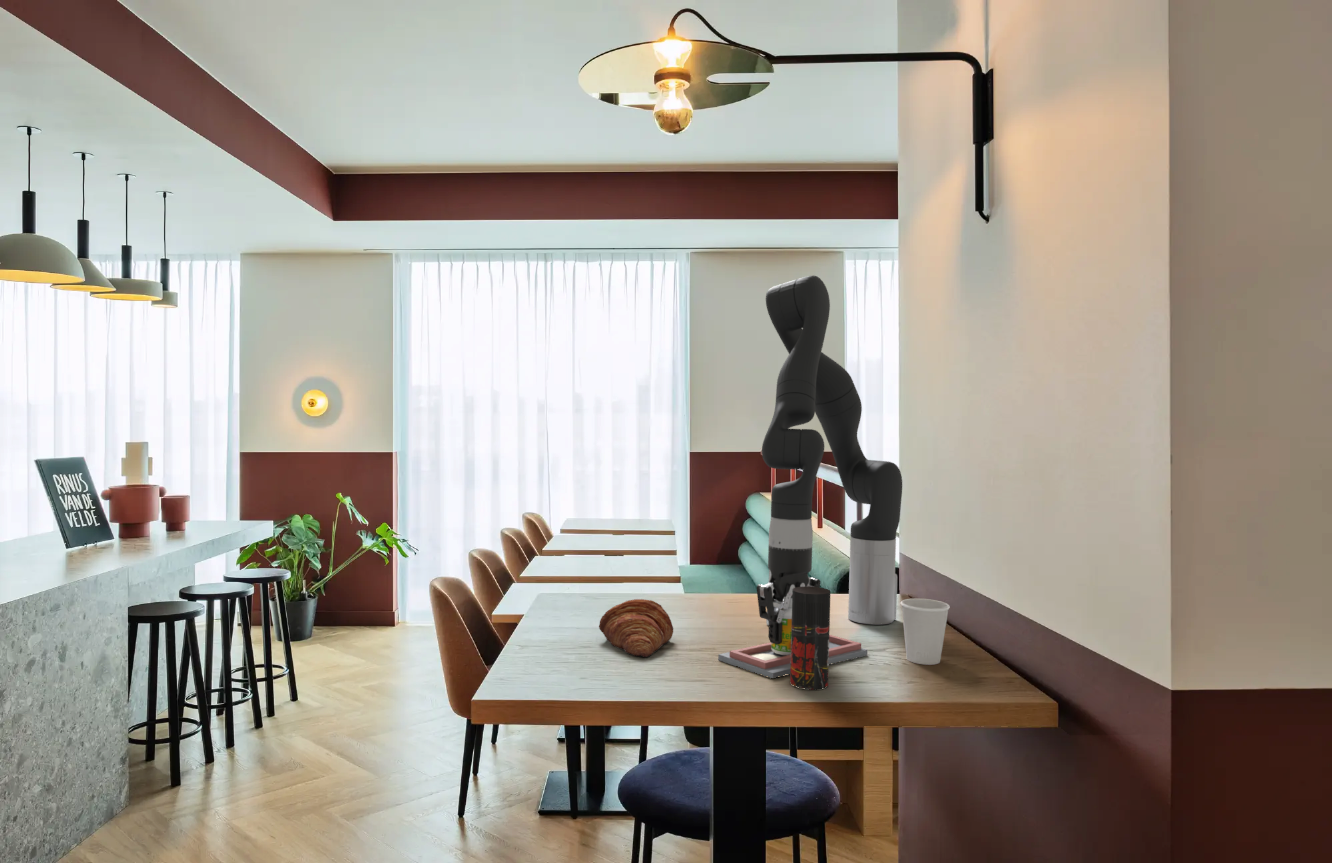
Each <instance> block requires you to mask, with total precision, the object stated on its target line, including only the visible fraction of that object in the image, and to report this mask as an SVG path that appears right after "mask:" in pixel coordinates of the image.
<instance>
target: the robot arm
mask: <svg viewBox="0 0 1332 863" xmlns="http://www.w3.org/2000/svg"><path fill="white" fill-rule="evenodd" d="M765 305H766V309H767V315H768V316H769V319H770V321H771V324H772V325H773V328H774V329H775V332H776V333H777V334H778V336H779V338H780V340H781V342H782V345H784V347H785V349H786V351H787V353H788V356H787V358H786V359H785V361H784V362H783V364H782V366H781V368H780V371H779V373H778V376H777V379H776V381H777V382H776V390H775V391H776V393H775V406H774V412H773V416H772V418H771V422H770V423H769V426H768V428H767V430H766V432H765V436H764V439H763V441H762V445H761V446H762V447H761V457H762V459H763V461H764V464H766V466H767V467H769V468H770V469H771V468H772V469H779V470H800V471H801V470H802V473H801V475H800V477H799V478H797V479H795V480H791V481H786V482H781V483H777V484H775V485H773V487H772V489H771V499H770V520H769V521H770V522H769V527H768V546H767V547H768V550H767V551H768V552H767V554H768V555H767V557H768V558H767V568H768V571H769V570H770V571H771V578H770V581H769V580H768V582H769V583H768V582H767V583H766V584H757V585H756V595H757V596H756V597H757V604H758V612H759V613H758V614H759V617H760V618H761V619H764V620H766V619H767V620H768V621H769V625H768V640H769V643H770V642H771V643H774V644H781V642H782V623H781V621H782V618H783V615H784V612H785V611H786V610H787V609H788V606H789V602H790V599H791V598H792V589H793V588H796V587H820V588H821V579H819V578H816V577H809V574H808V573H810V572H812V570H813V569H812V568H813V566H812V565H813V564H812V563H813V534H814V533H813V522H812V517H813V516H812V515H813V514H812V512H813V494H814V487H815V483H816V482H815V481H816V478H817V476H818V475H817V474H818V472H819V469H820V465H821V462H822V459H823V457H824V453H825V442H824V438H823V436H822V434H821V433H820V432H819V431H818V430H816V429H813V428H812V429H810V428H793V427H796V426H800V425H804V424H808V423H809V422H811V421H812V420H813V419H814V416H816V417H817V420H818V421H819V423H820V425H821V427H822V430H823V433H824V434H825V437H826V440H827V443H828V445H829V447H830V450H831V453H832V455H833V459H834V462H835V465H836V469H837V472H838V474H839V478H840V481H841V484H842V487H843V489H844V492H845V494H846V495H847V497H849V499H850V500H852V501H853V502H855V503H858V504H863V505H865V504H866V505H869V510H868V511H869V512H868V513H867V514H868V515H867V516H865V517H864V518H863V519H860V520H856V521H854V522H853V523H851V526H850V542H849V577H848V580H849V582H848V589H849V590H848V607H847V608H848V610H847V612H848V615H847V617H848V619H849V620H850V621H851V622H855V623H859V624H864V625H874V626H875V625H888V624H889V625H890V624H892V623H894V620H897V600H898V598H897V596H898V574H897V573H896V549H897V548H896V546H897V530H898V527H899V526H900V525H899V524H900V520H901V508H902V496H903V478H902V477H903V476H902V472H901V470H900V467H899V466H898V465H897V464H895V463H894V462H891V461H886V460H873V459H868V458H866V456H865V454H864V452H863V450H862V447H861V445H860V443H859V438H858V430H859V427H860V422H861V417H862V411H863V408H862V401H861V397H860V395H859V393H858V390H857V388H856V385H855V383H854V380H853V378H852V376H851V375H850V373H849V372H848V371H847V370H846V369H845V368H844V367H843V366H842V365H841V364H839V363H838V362H837V361H835V360H833V358H831V357H830V356H828V355H826V354H825V353H824V352H822V350H823V347H824V342H825V338H826V332H827V327H828V322H829V319H830V318H829V317H830V310H831V302H830V294H829V292H828V288H827V286H826V284H825V283H824V281H823V280H822V279H821V278H820V277H818V276H816V275H808V276H803V277H799V278H796V279H793V280H790V281H786V282H783V283H780V284H777V285H773V286H772V287H770V288H769V289H768V290H767V291H766V294H765ZM777 601H779V602H782V603H781V604H778V603H777ZM777 608H778V611H777V614H776V615H775V611H776V609H777Z"/></svg>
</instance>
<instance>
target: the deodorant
mask: <svg viewBox="0 0 1332 863" xmlns="http://www.w3.org/2000/svg"><path fill="white" fill-rule="evenodd" d="M830 620H831V590H830V589H828V588H824V587H821V586H820V587H796V588H793V589H792V628H791V668H790V675H789V679H790V681H789V683H790V682H791V684H792V685H794V686H797V687H799V688H805V689H809V690H808V691H818V690H817V689H822V688H825V687H826V686H828V687H829V666H830V665H829V635H830V630H831V628H830V626H831V624H830V623H831V622H830ZM791 684H790V685H791ZM792 685H791V686H792ZM799 688H798V689H799ZM815 689H816V690H815ZM825 689H826V688H825ZM822 690H823V689H822Z"/></svg>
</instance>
